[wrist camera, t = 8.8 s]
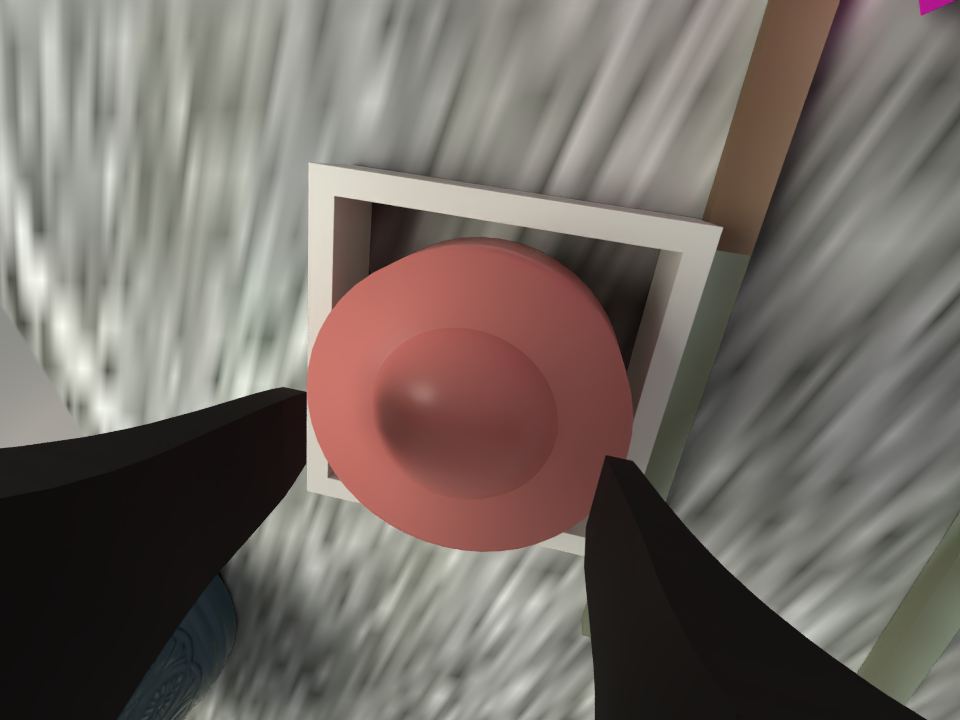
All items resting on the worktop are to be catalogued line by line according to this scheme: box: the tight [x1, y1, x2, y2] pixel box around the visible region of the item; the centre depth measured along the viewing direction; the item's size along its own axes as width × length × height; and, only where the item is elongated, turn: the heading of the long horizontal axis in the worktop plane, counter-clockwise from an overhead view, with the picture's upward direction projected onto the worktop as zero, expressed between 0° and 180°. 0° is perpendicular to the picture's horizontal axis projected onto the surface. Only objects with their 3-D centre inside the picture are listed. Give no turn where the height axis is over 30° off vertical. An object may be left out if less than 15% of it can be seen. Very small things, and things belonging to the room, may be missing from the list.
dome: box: [307, 237, 633, 552], centre depth 15 cm, size 9×9×6 cm
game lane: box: [582, 0, 960, 706], centre depth 15 cm, size 13×34×1 cm, turn 172°
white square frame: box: [307, 163, 723, 556], centre depth 17 cm, size 12×12×3 cm
